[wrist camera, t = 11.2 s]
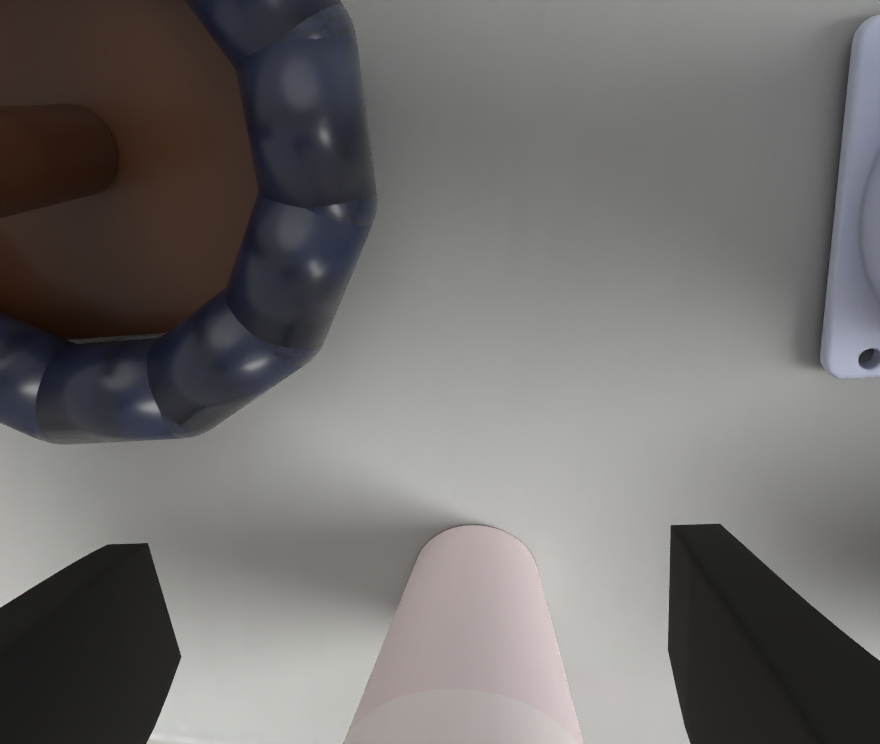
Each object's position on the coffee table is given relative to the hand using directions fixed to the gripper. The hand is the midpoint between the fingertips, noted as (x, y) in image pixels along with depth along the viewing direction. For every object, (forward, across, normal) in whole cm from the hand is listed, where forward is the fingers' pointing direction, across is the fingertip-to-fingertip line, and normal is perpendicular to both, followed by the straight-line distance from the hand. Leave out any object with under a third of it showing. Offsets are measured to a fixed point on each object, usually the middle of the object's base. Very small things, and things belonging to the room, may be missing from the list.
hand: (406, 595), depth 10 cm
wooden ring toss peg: (+9, +8, -6) cm, 14 cm away
